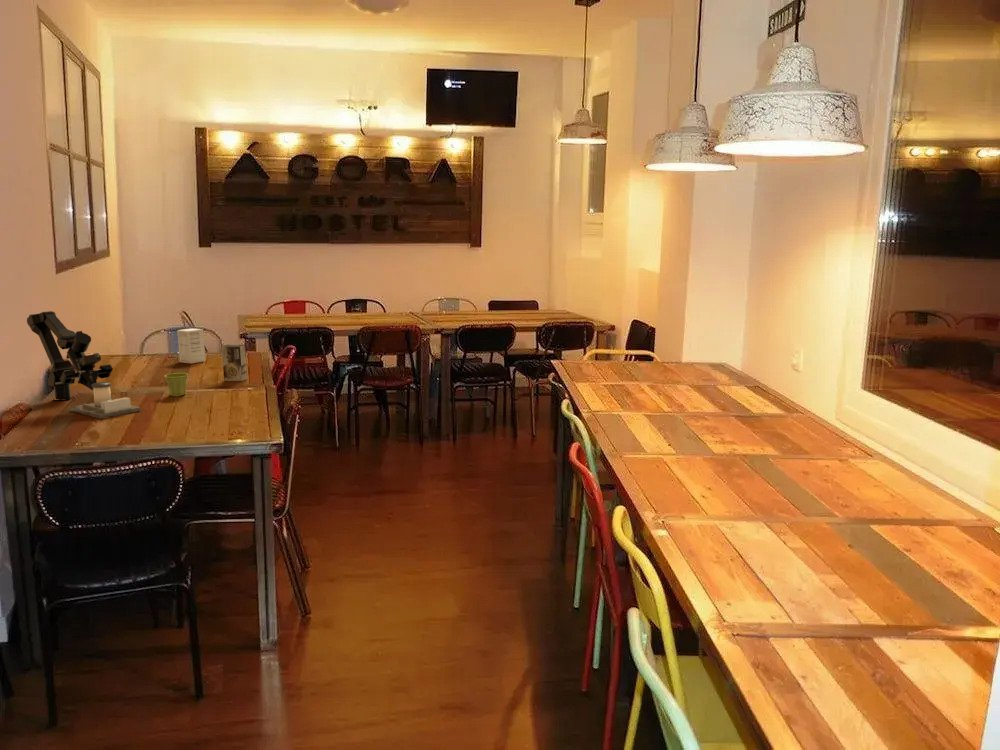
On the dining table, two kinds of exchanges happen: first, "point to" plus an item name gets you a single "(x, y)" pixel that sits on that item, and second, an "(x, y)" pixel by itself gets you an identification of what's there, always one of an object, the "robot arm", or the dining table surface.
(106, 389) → the knob
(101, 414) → the knob mount
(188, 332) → the supplement box
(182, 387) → the plant pot
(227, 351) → the coffee box
